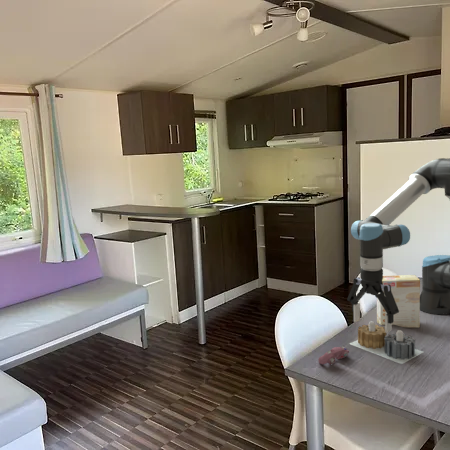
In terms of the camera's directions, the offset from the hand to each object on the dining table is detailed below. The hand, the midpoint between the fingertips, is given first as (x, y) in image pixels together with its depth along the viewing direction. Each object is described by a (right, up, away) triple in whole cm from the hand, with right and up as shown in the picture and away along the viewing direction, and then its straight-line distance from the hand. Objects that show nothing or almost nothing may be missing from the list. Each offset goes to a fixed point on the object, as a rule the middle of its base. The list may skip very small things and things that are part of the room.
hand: (372, 326), depth 162 cm
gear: (+7, -7, -8) cm, 13 cm away
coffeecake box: (+16, -4, +19) cm, 25 cm away
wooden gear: (0, -6, +1) cm, 6 cm away
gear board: (+3, -8, -4) cm, 10 cm away
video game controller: (-16, -11, -9) cm, 21 cm away
